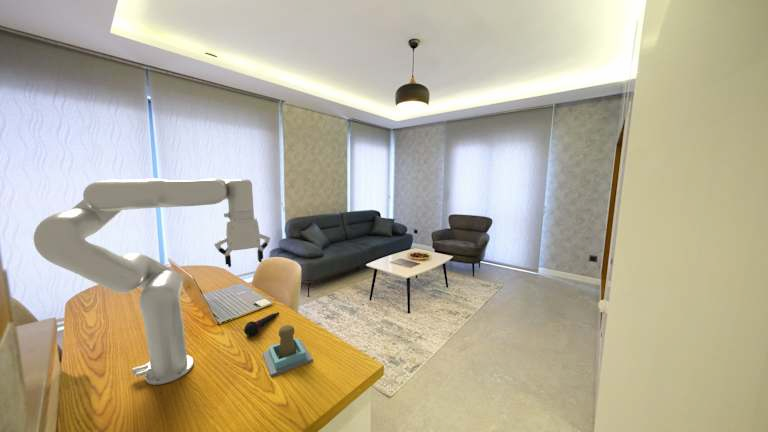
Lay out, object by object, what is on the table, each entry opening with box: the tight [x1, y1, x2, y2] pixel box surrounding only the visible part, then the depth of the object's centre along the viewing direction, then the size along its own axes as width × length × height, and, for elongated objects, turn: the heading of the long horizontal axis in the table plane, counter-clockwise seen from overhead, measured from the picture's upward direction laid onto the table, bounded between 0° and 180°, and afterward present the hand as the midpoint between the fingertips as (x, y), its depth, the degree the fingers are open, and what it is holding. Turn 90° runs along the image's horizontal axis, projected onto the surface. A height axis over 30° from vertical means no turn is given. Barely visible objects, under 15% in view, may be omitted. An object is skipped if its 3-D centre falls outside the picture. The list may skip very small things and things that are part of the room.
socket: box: [262, 337, 314, 378], centre depth 99 cm, size 14×13×3 cm
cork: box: [278, 324, 296, 359], centre depth 98 cm, size 6×6×11 cm
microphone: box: [243, 311, 280, 337], centre depth 119 cm, size 6×6×20 cm
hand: (245, 263), depth 98 cm, fingers open, 9 cm apart
